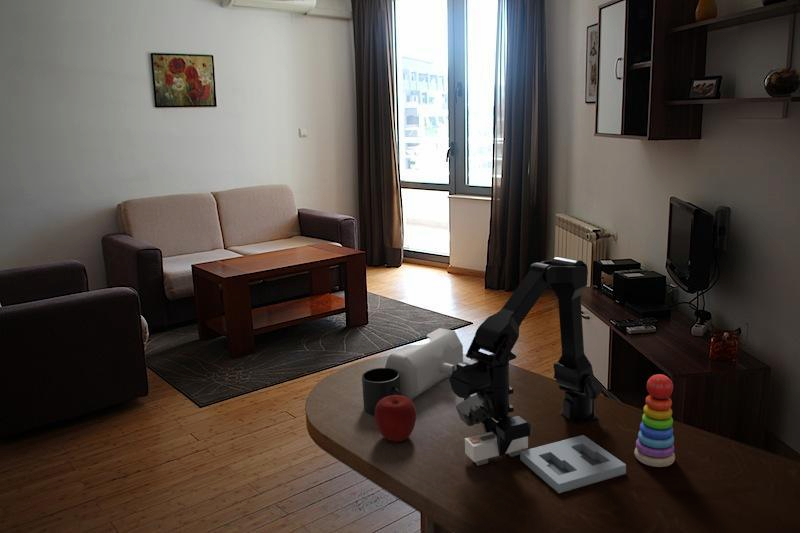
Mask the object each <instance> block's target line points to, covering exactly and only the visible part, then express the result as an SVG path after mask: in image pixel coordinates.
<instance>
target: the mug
mask: <svg viewBox="0 0 800 533" xmlns="http://www.w3.org/2000/svg"><path fill="white" fill-rule="evenodd" d="M361 382H362V384H361V387H362V399H363V400H362V401H363V409H364V412H366V413H367V414H369V415H371V416H375V407H376V405H377V403H378V402H379V401H380V400H381V399H382V398H384V397H387V396H391V395H401V393H400V375H399V372H398V371H396V370H394V369H390V368H385V367H378V368H371V369H369V370H367V371H365V372H363V373H362V375H361Z"/></svg>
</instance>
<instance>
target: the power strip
mask: <svg viewBox="0 0 800 533" xmlns="http://www.w3.org/2000/svg"><path fill="white" fill-rule="evenodd" d="M526 449H529V436H527V437H523V438H519V439H515V440H512V442H511V444H510V446H509V447H508V449H507V451H506V453H505V454H506V455H508V456H510V457H516V456H520V451H522V450H526ZM464 454H465V455H466V456H467V457H468V458H469V459H470V460H471V461H472V462H473V463H475V464H476V465H477V466H481V465H485V464H488V463H489V459H490V458H491V459H492V458H494V457H498V456H499V457H500V455H499V451H498V445H497V438H496V435H495V434H494V433H493V432H488V433H485V432H484V433H480V434H477V435H473V436H469V437H465V438H464Z"/></svg>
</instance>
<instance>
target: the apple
mask: <svg viewBox="0 0 800 533" xmlns="http://www.w3.org/2000/svg"><path fill="white" fill-rule="evenodd" d="M374 420H375V425H376V427H377V430H378V431H379V433H380V434H381V435H382V436H383V437H384V438H385V439H387V440H389V441H391V442H396V443H399V442H403V441H405V440H407V439H408V438H409V437H410V436H411V435H412V433H413V431H414V429H415V424H416V420H417V408H416V405H415V403H414V402H413V399H412V400H411V399H409V398H408V397H406V396H402V395H391V396H387V397H384V398H382V399H381V400H380V401H379V402H378V403H377V405H376V407H375V415H374Z"/></svg>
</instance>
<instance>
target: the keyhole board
mask: <svg viewBox="0 0 800 533" xmlns="http://www.w3.org/2000/svg"><path fill="white" fill-rule="evenodd" d="M519 456H520V457H519V458H520V461H521V462H522V463H523V464H524V465H525V466H527V467H528V468H529V469H530V470H531V471H532V472H533V473H535V474H536V475H537V476H538V477H539V478H540V479H542V480H543V481H544V482H545V483H546V484H547V485H548V486H549V487H551V489H553V490H554V491H555V492H556V493H558V494H561V493H564V492H569V491H572V490H576V489H578V488H582V487H586V486H589V485H592V484H596V483H599V482H603V481H606V480H610V479H612V478H617V477H619V476H622V475H626V474H627V464H626V463H625V462H623V461H621V460H620V459H618V458H617V456H614V455H613V454H611V453H610V452H608V451H607V450H606V449H604V448H603V447H601V446H600V445H599V444H597V443H595V442H594V441H593V440H592V439H590V438H589V437H587V436H585V435H584V434H582V435H578V436H574V437H573V436H572V437H569V438H565V439H563V440H560V441H555V442H551V443H547V444H543V445H540V446H536V447H532V448H527V449H523V450H521V451H520V455H519Z"/></svg>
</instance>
